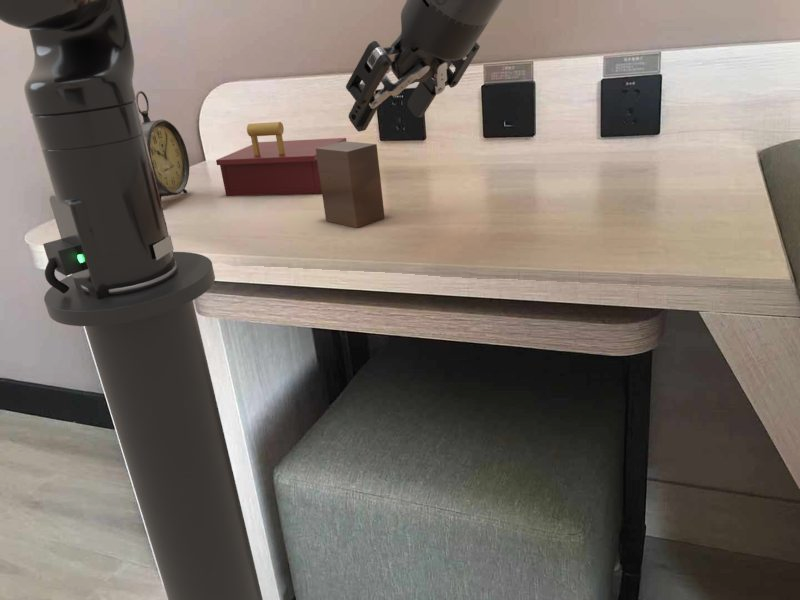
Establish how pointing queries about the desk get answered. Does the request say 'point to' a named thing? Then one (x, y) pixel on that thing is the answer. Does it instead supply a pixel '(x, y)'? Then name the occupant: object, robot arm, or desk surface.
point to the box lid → (275, 147)
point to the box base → (271, 178)
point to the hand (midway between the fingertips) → (385, 118)
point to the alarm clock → (166, 154)
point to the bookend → (350, 183)
